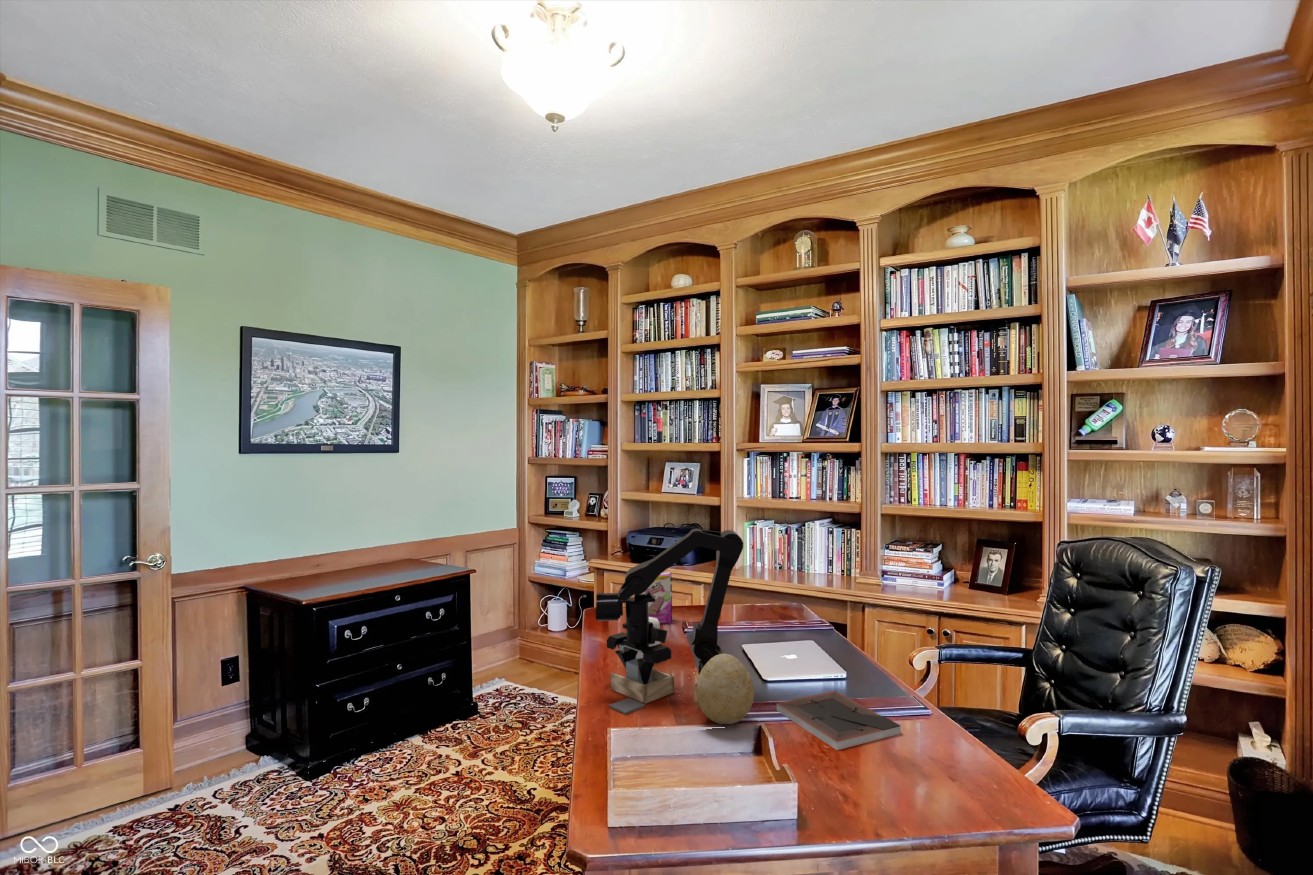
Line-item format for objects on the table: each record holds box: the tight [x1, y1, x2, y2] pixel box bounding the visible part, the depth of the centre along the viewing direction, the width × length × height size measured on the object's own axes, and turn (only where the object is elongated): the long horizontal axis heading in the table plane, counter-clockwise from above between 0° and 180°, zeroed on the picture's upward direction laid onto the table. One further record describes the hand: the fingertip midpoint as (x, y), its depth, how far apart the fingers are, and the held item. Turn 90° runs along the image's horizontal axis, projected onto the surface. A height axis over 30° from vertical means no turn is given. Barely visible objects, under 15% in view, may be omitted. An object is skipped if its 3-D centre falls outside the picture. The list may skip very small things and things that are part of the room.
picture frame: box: [776, 690, 902, 751], centre depth 151 cm, size 16×2×22 cm
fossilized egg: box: [695, 653, 755, 725], centre depth 152 cm, size 13×13×15 cm
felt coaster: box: [608, 697, 646, 715], centre depth 161 cm, size 6×6×1 cm
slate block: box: [625, 657, 652, 685], centre depth 172 cm, size 4×4×7 cm
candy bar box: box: [642, 571, 673, 625], centre depth 230 cm, size 11×5×16 cm, turn 91°
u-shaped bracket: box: [610, 667, 675, 705], centre depth 171 cm, size 13×10×4 cm
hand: (639, 681), depth 172 cm, fingers closed on slate block, 4 cm apart
